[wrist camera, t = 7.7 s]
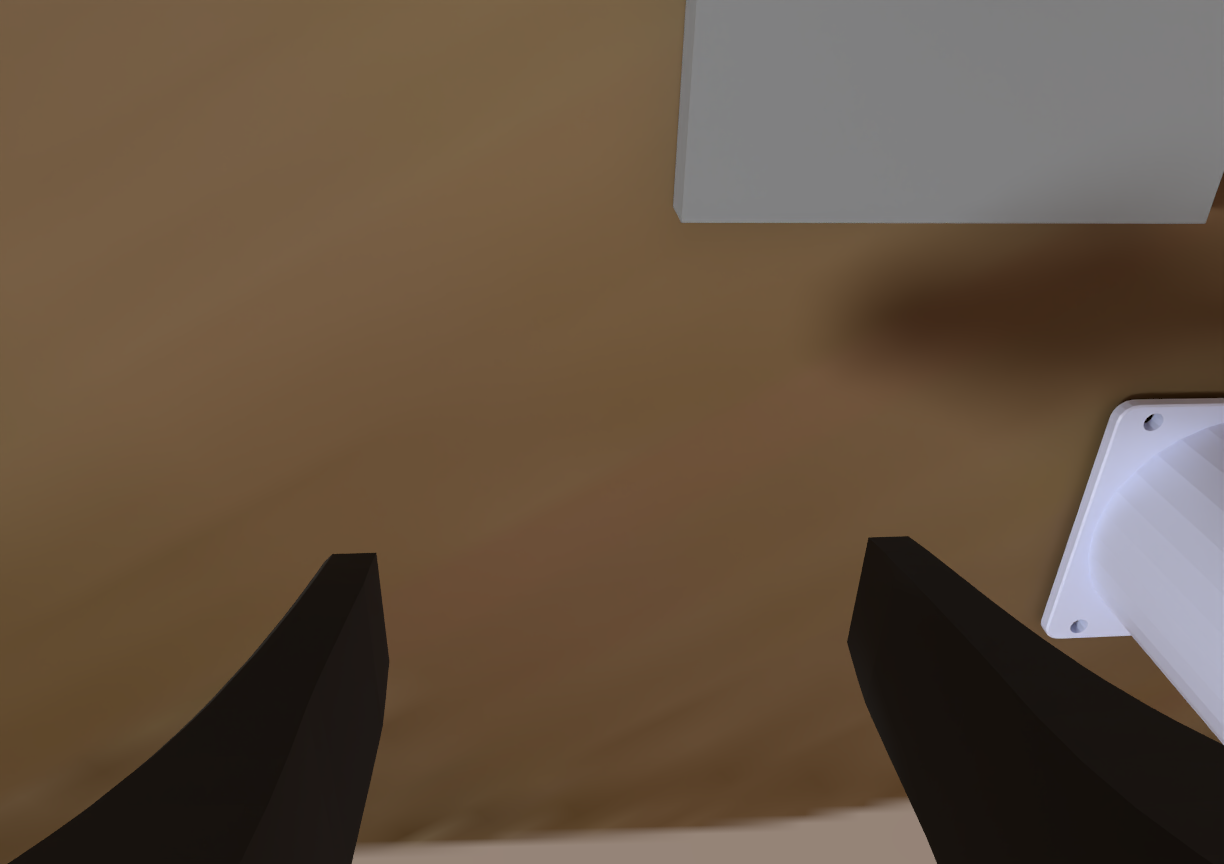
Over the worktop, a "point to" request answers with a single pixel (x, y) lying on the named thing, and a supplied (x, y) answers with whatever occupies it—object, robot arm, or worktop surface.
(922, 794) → the robot arm
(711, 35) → the gear board
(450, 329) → the worktop surface
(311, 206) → the worktop surface
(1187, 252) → the worktop surface
